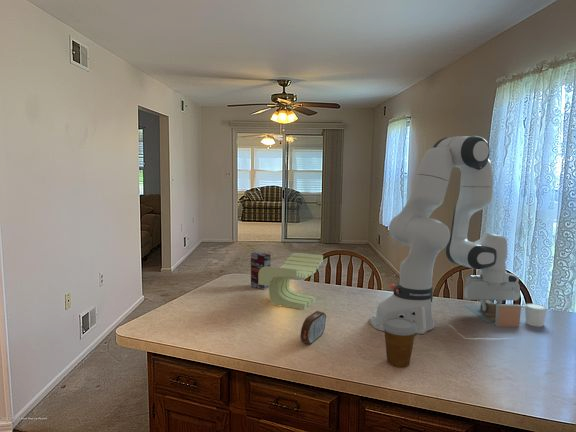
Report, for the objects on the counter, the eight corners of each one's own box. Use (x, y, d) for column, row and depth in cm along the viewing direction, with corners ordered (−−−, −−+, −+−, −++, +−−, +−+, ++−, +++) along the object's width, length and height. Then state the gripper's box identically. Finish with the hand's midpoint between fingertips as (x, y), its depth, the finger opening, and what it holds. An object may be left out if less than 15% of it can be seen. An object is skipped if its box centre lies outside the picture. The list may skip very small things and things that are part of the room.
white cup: (548, 329, 153) (550, 309, 152) (527, 327, 154) (528, 308, 154) (541, 322, 160) (542, 303, 159) (521, 320, 161) (522, 302, 160)
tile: (497, 327, 154) (498, 305, 153) (494, 326, 156) (496, 304, 155) (519, 327, 154) (521, 305, 153) (516, 326, 156) (518, 304, 155)
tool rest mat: (487, 324, 157) (487, 323, 157) (464, 306, 177) (464, 305, 177) (520, 324, 157) (520, 323, 157) (493, 307, 177) (493, 305, 177)
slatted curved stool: (288, 290, 197) (289, 251, 195) (322, 295, 191) (322, 255, 189) (258, 310, 170) (258, 265, 168) (295, 316, 163) (296, 269, 161)
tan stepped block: (476, 308, 173) (476, 299, 172) (490, 308, 173) (491, 299, 172) (493, 321, 159) (494, 310, 158) (509, 321, 159) (510, 310, 158)
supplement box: (250, 286, 203) (250, 253, 201) (257, 284, 206) (257, 251, 204) (263, 290, 197) (263, 255, 195) (270, 287, 201) (271, 254, 199)
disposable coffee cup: (377, 356, 129) (378, 317, 128) (408, 355, 130) (410, 316, 129) (387, 370, 120) (388, 329, 119) (420, 369, 121) (422, 328, 119)
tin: (318, 331, 149) (319, 307, 148) (327, 332, 147) (327, 308, 146) (299, 346, 136) (299, 320, 135) (308, 348, 134) (309, 322, 133)
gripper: (469, 277, 162) (467, 313, 164) (523, 277, 163) (520, 313, 164) (462, 273, 169) (460, 307, 170) (514, 273, 169) (511, 308, 171)
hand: (490, 310), depth 167 cm, fingers closed on tan stepped block, 2 cm apart
